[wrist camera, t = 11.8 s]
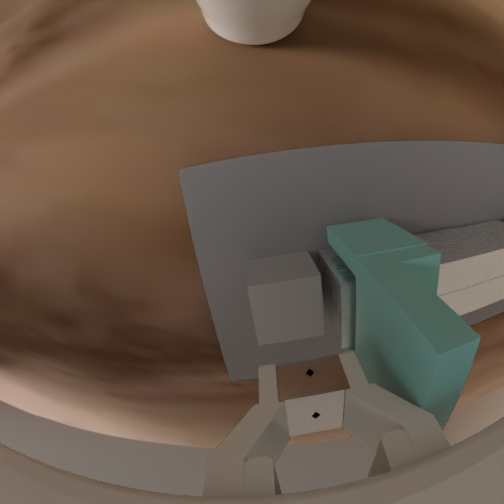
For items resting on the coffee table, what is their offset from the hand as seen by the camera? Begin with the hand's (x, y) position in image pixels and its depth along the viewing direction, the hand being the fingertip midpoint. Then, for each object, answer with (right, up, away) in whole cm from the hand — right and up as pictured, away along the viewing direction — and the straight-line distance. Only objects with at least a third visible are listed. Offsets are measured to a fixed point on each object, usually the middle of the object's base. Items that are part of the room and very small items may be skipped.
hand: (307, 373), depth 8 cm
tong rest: (+10, +4, +7) cm, 13 cm away
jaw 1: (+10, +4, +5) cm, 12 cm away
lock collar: (+4, +3, +6) cm, 7 cm away
